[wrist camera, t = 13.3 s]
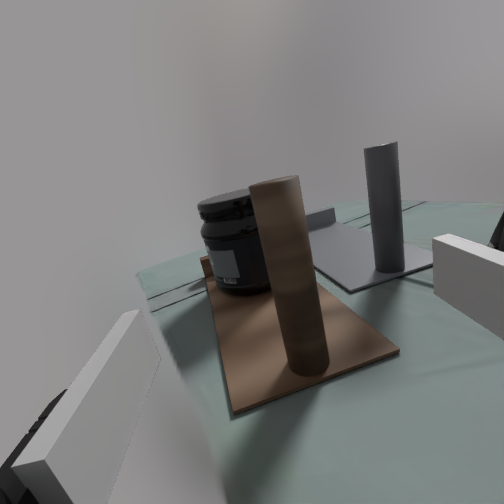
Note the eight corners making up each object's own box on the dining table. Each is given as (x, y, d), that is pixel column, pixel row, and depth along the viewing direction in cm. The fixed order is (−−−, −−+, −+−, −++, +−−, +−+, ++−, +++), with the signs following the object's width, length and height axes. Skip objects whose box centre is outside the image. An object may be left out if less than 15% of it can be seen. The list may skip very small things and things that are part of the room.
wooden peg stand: (399, 352, 21) (384, 156, 17) (234, 414, 19) (169, 211, 15) (280, 254, 48) (262, 168, 43) (205, 276, 46) (178, 188, 41)
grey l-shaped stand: (450, 259, 33) (449, 129, 29) (350, 292, 31) (333, 158, 27) (332, 222, 59) (322, 151, 55) (274, 238, 57) (259, 166, 53)
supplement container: (306, 266, 40) (290, 180, 36) (265, 305, 32) (240, 200, 28) (247, 263, 46) (229, 190, 42) (202, 295, 38) (175, 209, 35)
